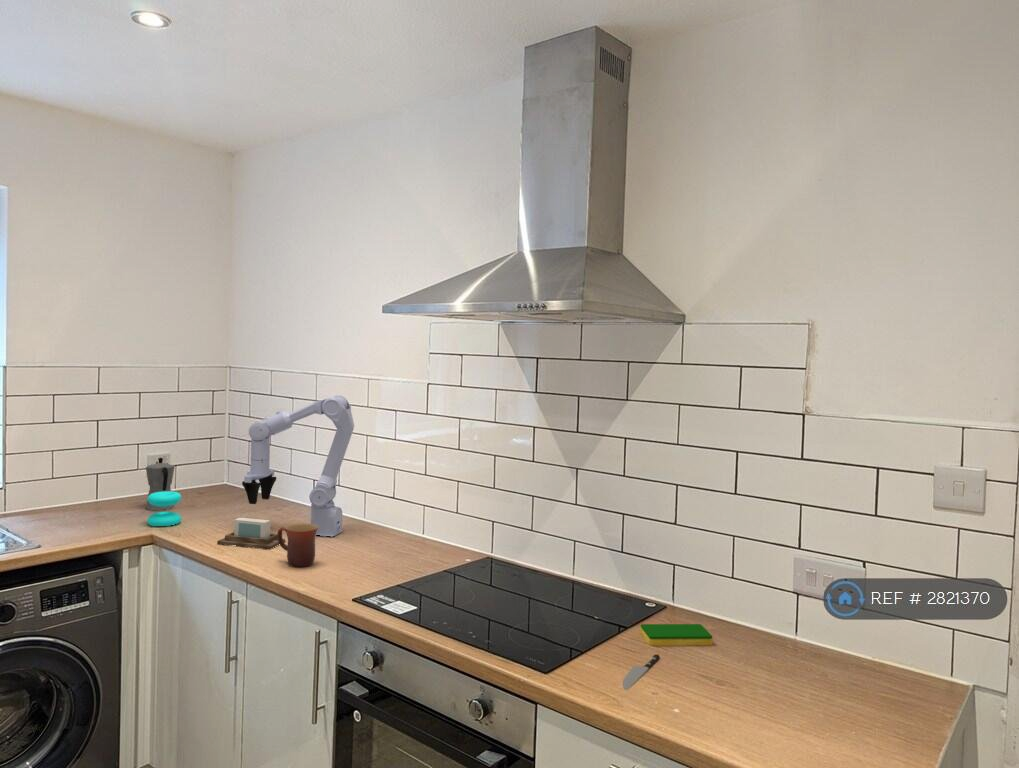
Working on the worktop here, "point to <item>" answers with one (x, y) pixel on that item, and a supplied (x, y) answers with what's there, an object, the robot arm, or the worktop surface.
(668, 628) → the dish sponge
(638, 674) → the chef's knife
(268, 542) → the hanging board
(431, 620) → the worktop surface
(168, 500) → the donuts
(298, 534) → the mug
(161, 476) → the coffeepot
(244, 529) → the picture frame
